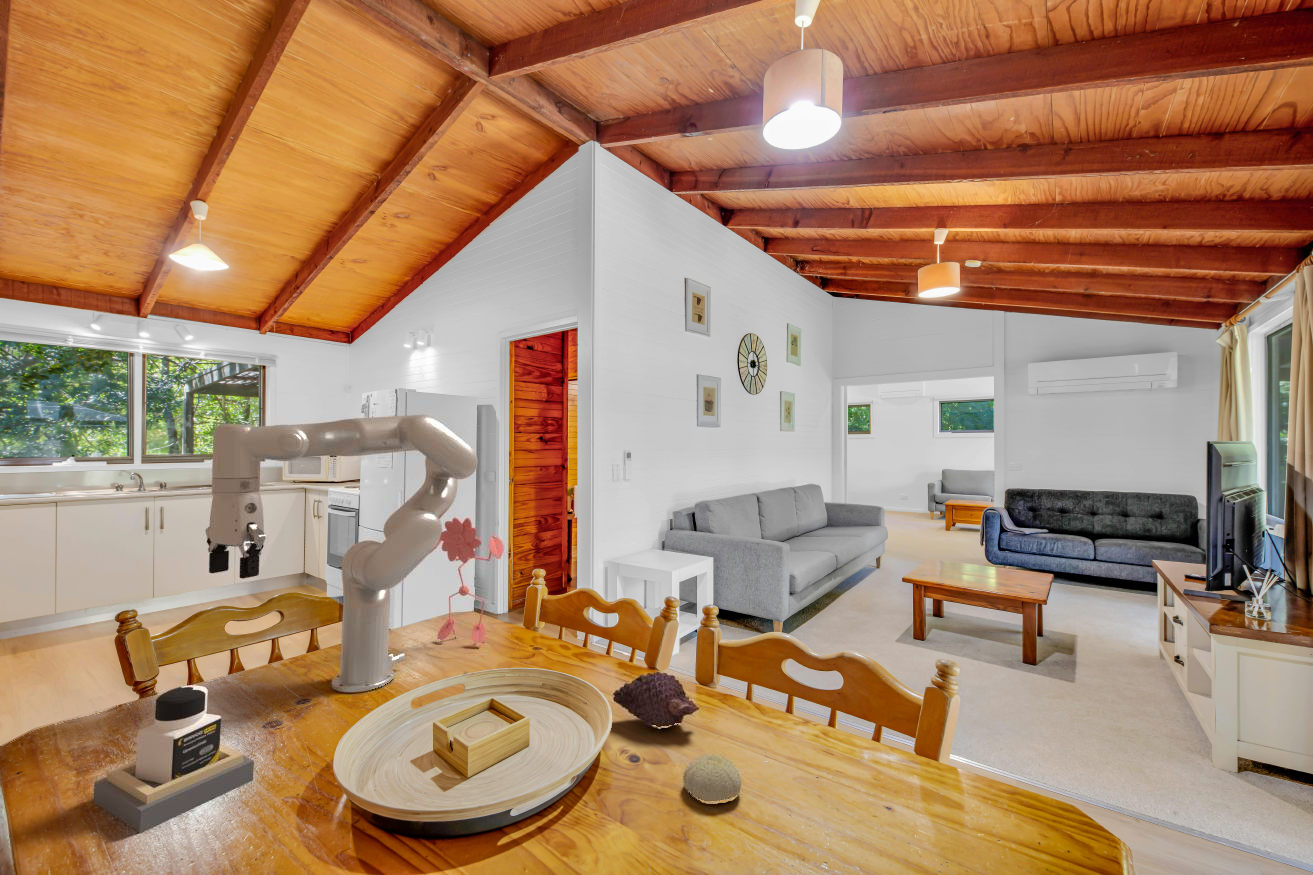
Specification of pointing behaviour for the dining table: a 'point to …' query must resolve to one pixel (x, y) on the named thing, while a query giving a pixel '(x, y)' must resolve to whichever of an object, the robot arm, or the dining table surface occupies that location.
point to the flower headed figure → (462, 545)
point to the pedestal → (169, 790)
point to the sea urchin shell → (712, 778)
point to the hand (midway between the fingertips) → (233, 574)
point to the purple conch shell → (655, 699)
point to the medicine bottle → (178, 736)
